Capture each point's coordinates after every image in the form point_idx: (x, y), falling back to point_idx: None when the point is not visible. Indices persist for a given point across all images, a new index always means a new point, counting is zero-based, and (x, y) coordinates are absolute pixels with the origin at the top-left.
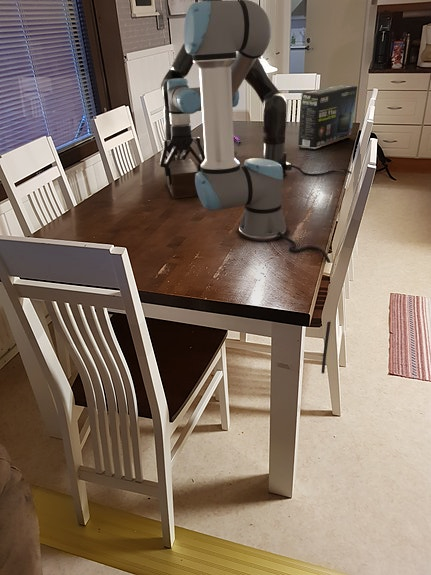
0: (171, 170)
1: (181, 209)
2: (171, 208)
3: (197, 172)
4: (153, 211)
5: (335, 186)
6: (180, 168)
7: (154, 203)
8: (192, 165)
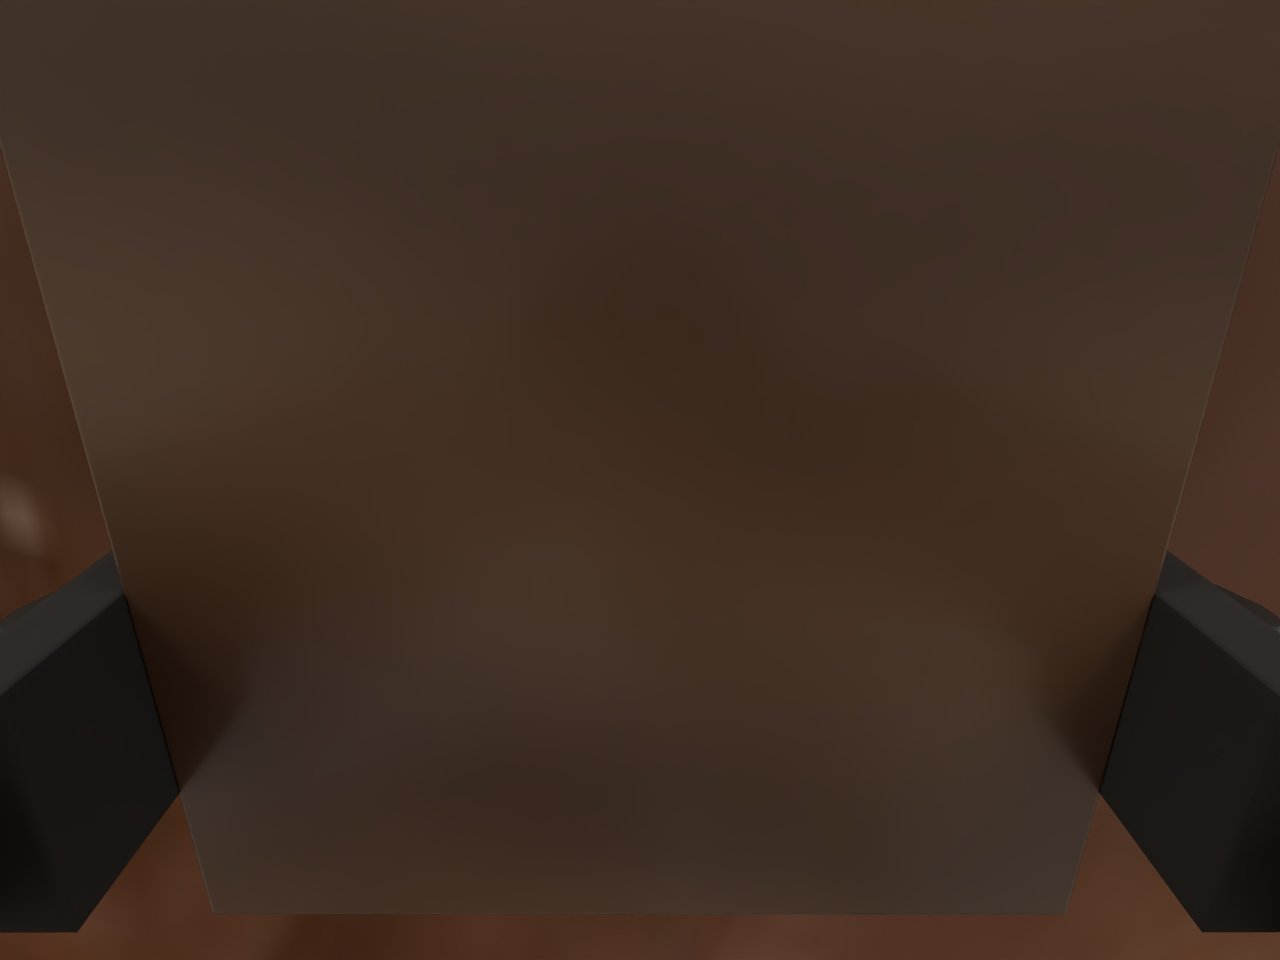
0: (193, 564)
1: (500, 917)
2: None
3: (998, 898)
4: (149, 886)
5: None
6: (552, 439)
7: None
8: (1155, 165)
